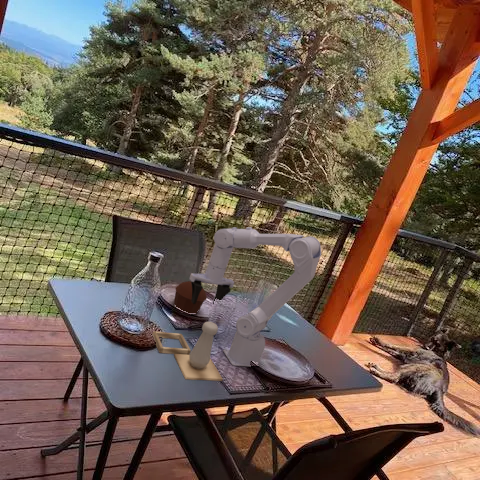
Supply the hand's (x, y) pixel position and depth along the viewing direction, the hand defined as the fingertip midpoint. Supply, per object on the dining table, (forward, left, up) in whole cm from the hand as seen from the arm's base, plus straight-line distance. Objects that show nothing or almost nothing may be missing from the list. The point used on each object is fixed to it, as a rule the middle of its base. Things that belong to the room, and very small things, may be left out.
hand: (204, 303), depth 145 cm
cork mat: (+6, +20, -10) cm, 23 cm away
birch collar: (+11, +9, -10) cm, 17 cm away
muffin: (-2, -16, -11) cm, 19 cm away
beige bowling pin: (+6, +19, -10) cm, 22 cm away
